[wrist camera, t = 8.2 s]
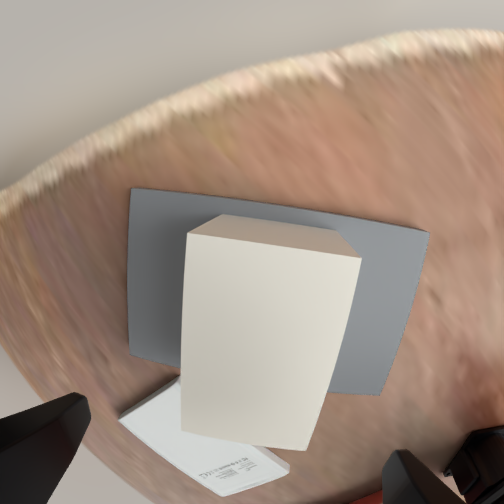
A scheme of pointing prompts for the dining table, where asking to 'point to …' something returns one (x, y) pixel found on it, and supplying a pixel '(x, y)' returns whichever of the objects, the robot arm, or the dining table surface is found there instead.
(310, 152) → the dining table surface
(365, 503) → the plant saucer
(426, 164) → the dining table surface
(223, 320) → the block
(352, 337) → the base plate
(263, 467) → the external hard drive
